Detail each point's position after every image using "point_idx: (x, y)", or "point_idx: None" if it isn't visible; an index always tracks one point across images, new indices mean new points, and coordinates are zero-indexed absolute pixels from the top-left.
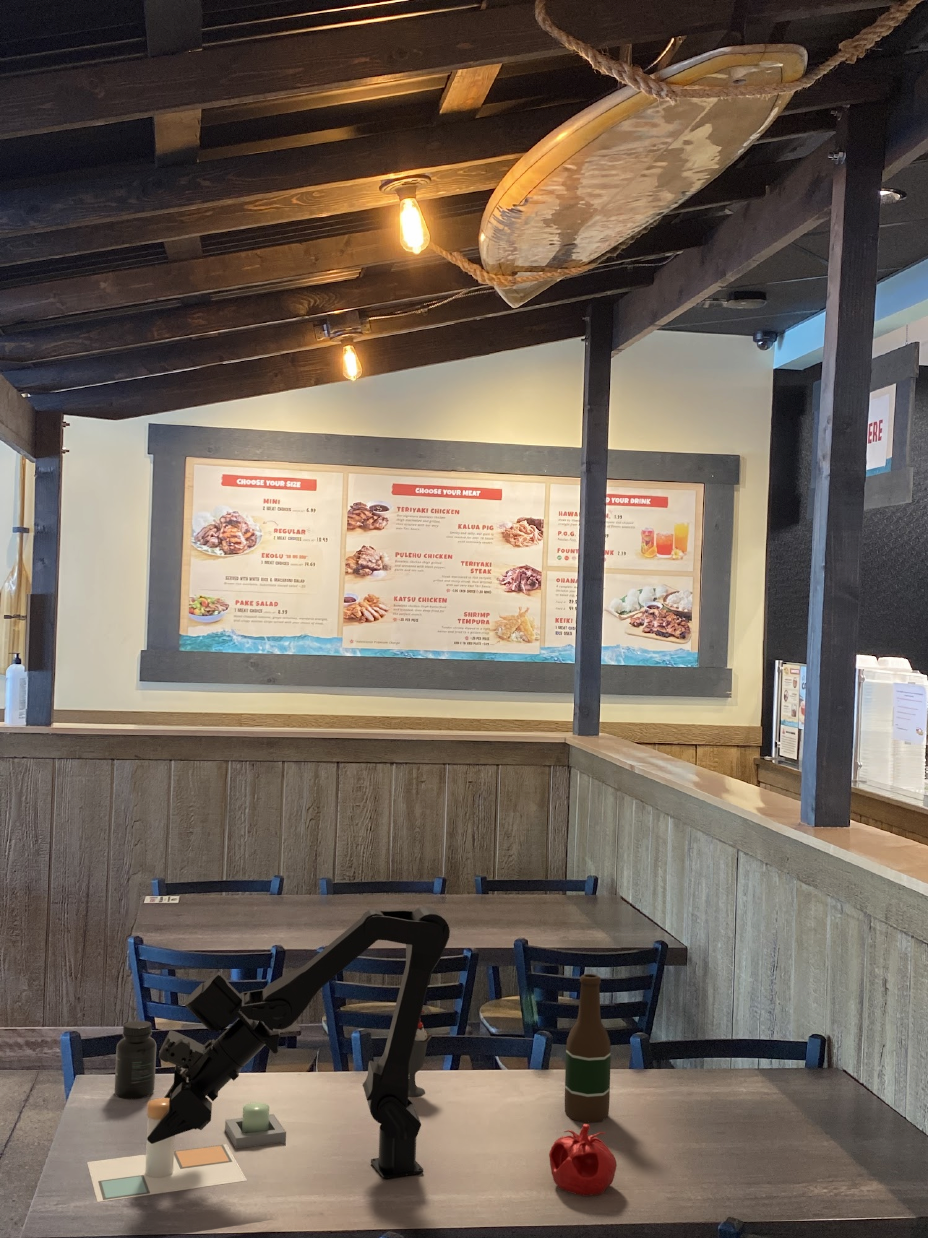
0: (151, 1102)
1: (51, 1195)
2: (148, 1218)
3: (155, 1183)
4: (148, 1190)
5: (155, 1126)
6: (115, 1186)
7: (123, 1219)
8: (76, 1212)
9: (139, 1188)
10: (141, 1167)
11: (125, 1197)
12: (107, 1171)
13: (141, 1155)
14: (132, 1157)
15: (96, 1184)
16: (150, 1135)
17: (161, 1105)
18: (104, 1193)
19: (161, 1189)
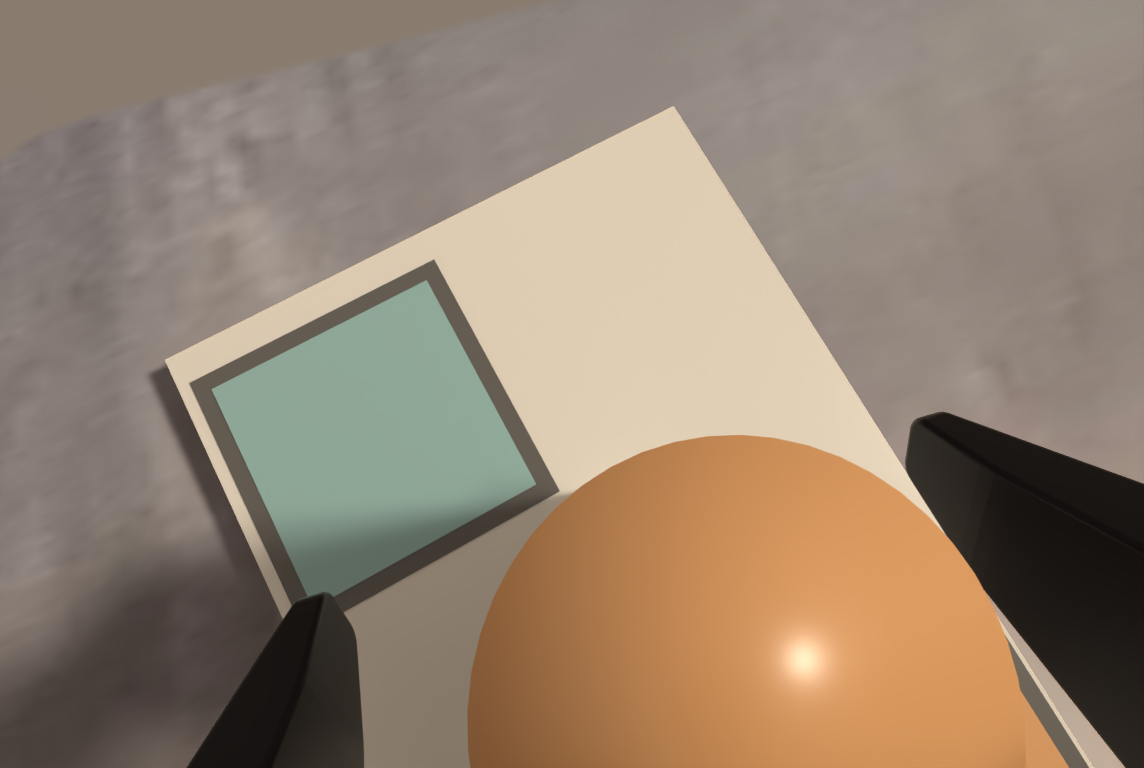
0: (726, 496)
1: (337, 82)
2: (97, 703)
3: (452, 613)
4: (342, 608)
5: (273, 727)
6: (369, 385)
7: (79, 558)
8: (152, 276)
9: (357, 541)
10: (666, 436)
11: (232, 500)
12: (571, 260)
13: (834, 372)
14: (794, 328)
15: (390, 266)
16: (265, 652)
17: (611, 756)
18: (274, 356)
19: (368, 688)
